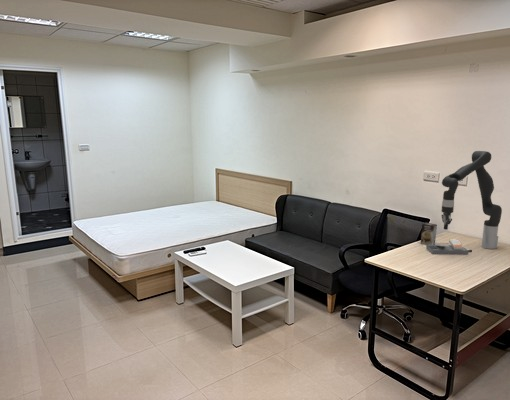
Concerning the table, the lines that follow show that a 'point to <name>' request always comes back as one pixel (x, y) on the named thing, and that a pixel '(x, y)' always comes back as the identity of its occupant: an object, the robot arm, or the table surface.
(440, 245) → the block
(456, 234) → the table surface
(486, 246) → the robot arm
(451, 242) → the rocker
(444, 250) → the rocker switch panel
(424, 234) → the coffee box
